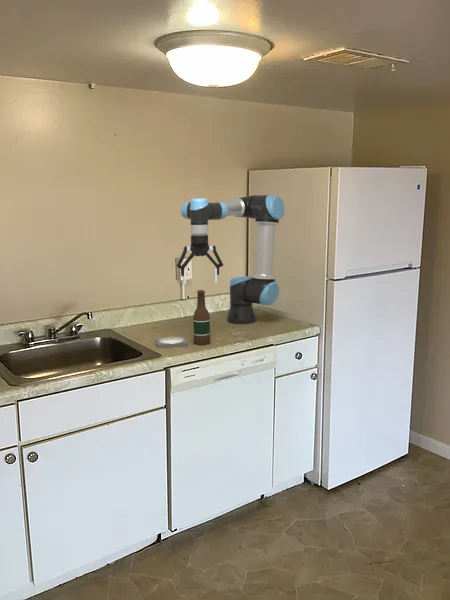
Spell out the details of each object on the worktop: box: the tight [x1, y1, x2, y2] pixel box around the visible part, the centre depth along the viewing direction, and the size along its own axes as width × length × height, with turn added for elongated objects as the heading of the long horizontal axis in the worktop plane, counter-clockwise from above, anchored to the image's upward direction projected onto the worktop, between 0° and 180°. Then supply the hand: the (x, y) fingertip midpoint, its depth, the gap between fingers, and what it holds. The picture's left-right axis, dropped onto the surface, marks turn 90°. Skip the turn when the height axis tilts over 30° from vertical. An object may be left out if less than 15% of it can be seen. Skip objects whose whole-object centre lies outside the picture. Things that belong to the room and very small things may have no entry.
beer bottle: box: [192, 289, 211, 346], centre depth 247 cm, size 8×8×24 cm
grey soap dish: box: [155, 336, 188, 349], centre depth 249 cm, size 13×11×2 cm
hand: (200, 283), depth 244 cm, fingers open, 13 cm apart
